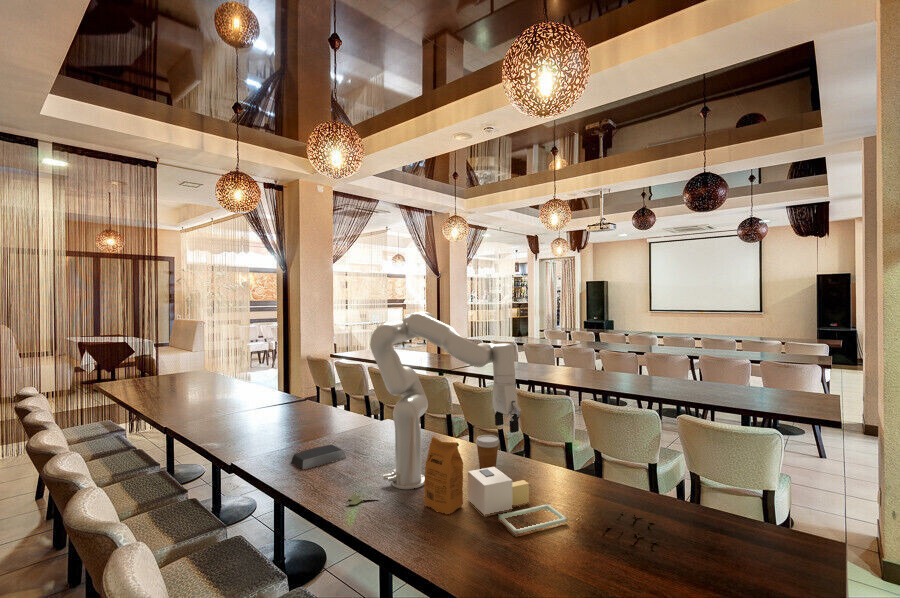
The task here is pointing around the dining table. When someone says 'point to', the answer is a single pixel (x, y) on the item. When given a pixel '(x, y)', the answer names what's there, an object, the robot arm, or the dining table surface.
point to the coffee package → (443, 477)
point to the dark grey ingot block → (317, 456)
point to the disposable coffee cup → (487, 450)
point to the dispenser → (489, 490)
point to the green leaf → (354, 499)
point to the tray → (537, 526)
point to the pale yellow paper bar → (520, 492)
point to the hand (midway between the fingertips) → (506, 428)
